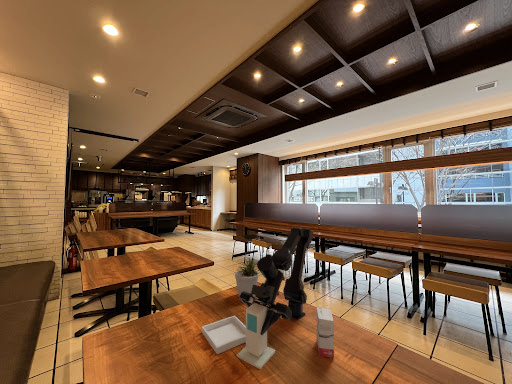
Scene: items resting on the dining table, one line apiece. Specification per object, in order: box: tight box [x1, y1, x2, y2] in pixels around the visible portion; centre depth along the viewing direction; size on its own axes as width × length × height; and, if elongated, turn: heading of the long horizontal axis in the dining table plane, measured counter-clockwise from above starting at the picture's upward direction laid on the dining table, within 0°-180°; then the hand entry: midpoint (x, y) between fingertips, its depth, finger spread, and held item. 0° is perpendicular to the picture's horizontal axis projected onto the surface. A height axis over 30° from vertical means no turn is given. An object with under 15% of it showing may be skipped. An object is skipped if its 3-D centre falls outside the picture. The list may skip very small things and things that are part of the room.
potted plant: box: [234, 257, 262, 297], centre depth 112 cm, size 13×14×20 cm
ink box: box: [316, 307, 335, 359], centre depth 73 cm, size 9×5×12 cm, turn 168°
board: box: [236, 345, 276, 370], centre depth 69 cm, size 9×9×1 cm
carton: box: [245, 303, 268, 357], centre depth 69 cm, size 5×5×13 cm
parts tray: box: [201, 315, 246, 355], centre depth 78 cm, size 14×14×2 cm
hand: (254, 331), depth 68 cm, fingers closed on carton, 5 cm apart
